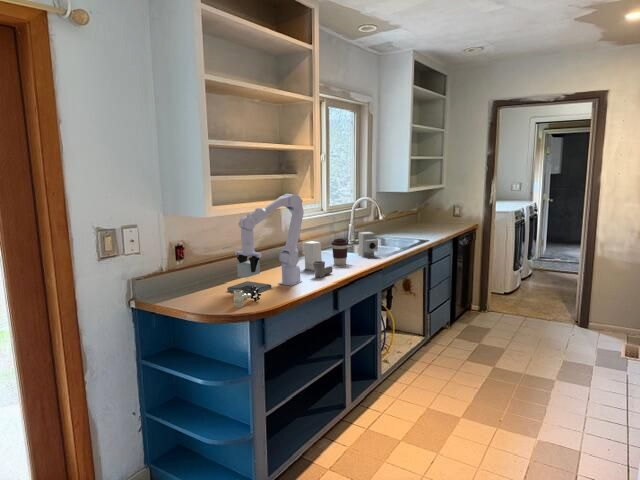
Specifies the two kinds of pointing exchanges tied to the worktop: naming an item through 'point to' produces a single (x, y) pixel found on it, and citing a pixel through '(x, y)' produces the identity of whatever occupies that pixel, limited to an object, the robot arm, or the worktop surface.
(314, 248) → the skincare box
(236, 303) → the valve
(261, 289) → the shallow gray tray
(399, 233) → the worktop surface
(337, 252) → the coffee cup
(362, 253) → the circuit breaker
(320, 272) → the pipe
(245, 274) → the block
